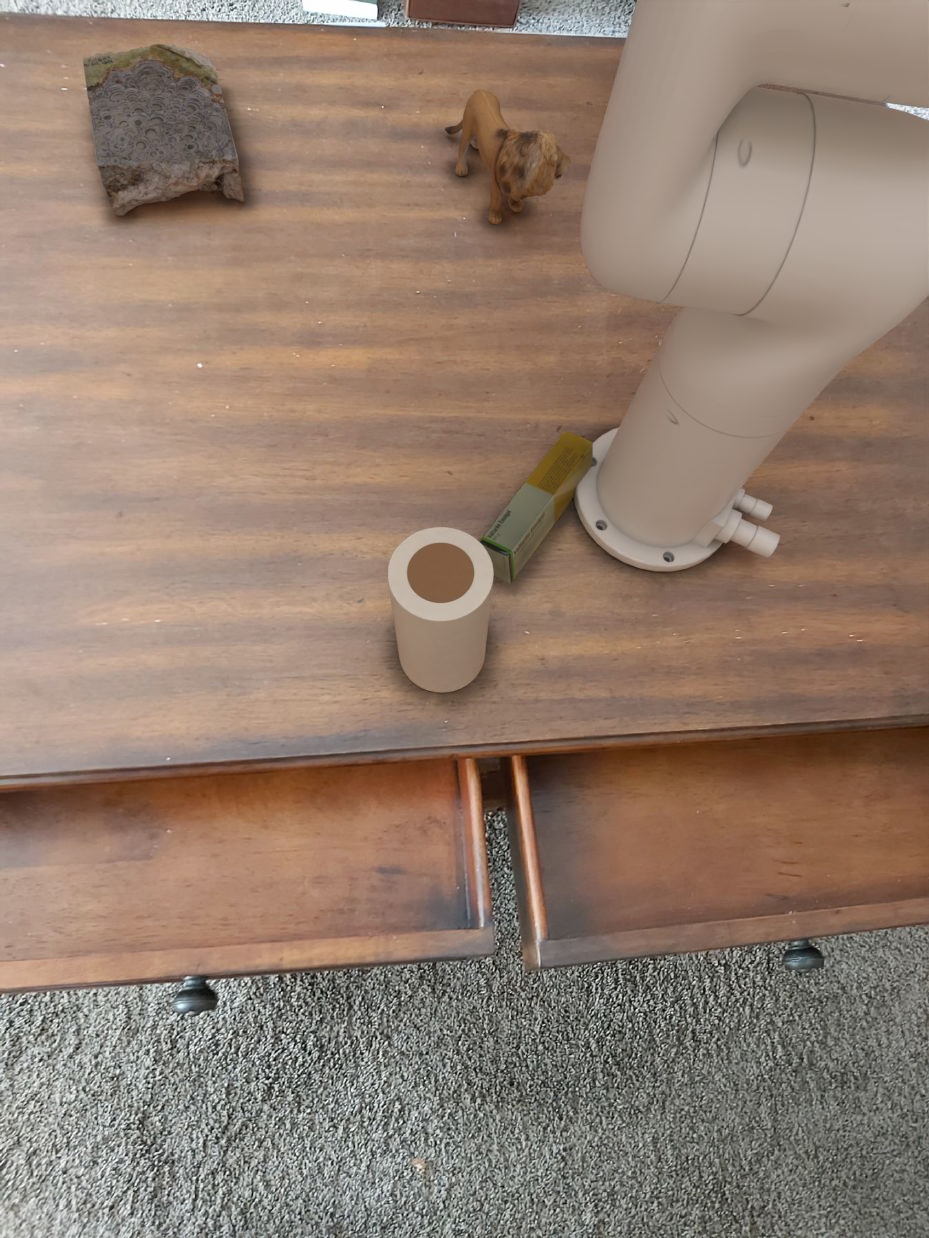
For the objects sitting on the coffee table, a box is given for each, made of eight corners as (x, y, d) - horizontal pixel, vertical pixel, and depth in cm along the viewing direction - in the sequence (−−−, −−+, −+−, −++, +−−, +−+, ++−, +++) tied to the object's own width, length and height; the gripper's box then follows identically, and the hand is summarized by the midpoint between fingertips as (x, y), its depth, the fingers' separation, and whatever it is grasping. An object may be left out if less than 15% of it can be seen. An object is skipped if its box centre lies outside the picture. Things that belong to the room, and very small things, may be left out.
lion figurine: (561, 232, 74) (586, 141, 66) (513, 254, 72) (533, 164, 64) (467, 126, 77) (479, 27, 69) (419, 144, 76) (426, 46, 68)
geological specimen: (98, 177, 64) (73, 34, 68) (121, 236, 70) (96, 101, 74) (239, 160, 66) (206, 22, 70) (250, 219, 71) (219, 88, 76)
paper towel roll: (498, 633, 59) (510, 550, 47) (462, 707, 56) (466, 637, 45) (422, 600, 59) (416, 511, 48) (383, 671, 57) (368, 594, 46)
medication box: (511, 588, 61) (507, 558, 57) (481, 573, 62) (475, 542, 58) (593, 474, 65) (594, 439, 61) (563, 461, 66) (563, 426, 62)
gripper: (641, -290, 56) (577, -4, 73) (875, -196, 55) (754, 73, 72) (678, -333, 59) (608, -48, 76) (901, -245, 58) (779, 25, 75)
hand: (680, 8), depth 73 cm, fingers closed on sprinkles bottle, 4 cm apart
